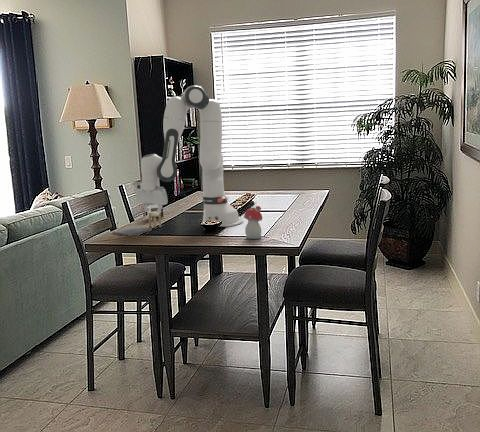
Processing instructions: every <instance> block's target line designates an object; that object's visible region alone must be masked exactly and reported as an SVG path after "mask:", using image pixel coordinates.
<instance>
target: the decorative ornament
mask: <svg viewBox="0 0 480 432" xmlns="http://www.w3.org/2000/svg"><path fill="white" fill-rule="evenodd" d="M261 210H262V208H261V206H259V205H256V206H255V207H250V208H248V209H246V211H245V212H244V216H243V218H244V219H246V220H247V224H246V226H245V231H244V232H245V236H246V238H247V239H249V240H258V239H261V238H262V227H261V224H260V221H262V220H263V216H262V213H261Z"/></svg>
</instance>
